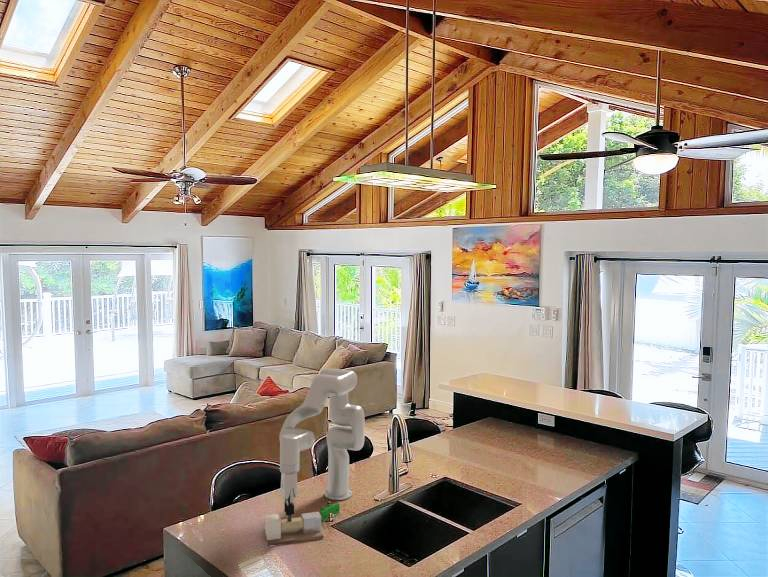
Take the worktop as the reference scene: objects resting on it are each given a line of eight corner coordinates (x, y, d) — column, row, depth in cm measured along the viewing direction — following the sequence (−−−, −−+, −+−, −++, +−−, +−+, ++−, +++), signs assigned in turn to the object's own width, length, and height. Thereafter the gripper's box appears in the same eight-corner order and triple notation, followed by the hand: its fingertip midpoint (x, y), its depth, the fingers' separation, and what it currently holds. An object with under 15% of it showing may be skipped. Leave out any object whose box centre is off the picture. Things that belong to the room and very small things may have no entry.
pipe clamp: (332, 511, 248) (332, 501, 248) (339, 513, 246) (339, 503, 246) (315, 520, 239) (315, 509, 239) (322, 523, 237) (322, 512, 237)
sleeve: (301, 528, 229) (301, 513, 228) (318, 526, 231) (318, 511, 231) (303, 533, 224) (303, 519, 224) (321, 531, 226) (321, 516, 226)
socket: (265, 531, 225) (265, 515, 225) (277, 530, 227) (278, 514, 227) (267, 540, 219) (267, 523, 218) (280, 538, 220) (280, 521, 220)
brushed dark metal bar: (278, 527, 225) (278, 499, 224) (311, 523, 229) (311, 496, 229) (279, 531, 222) (279, 503, 221) (312, 526, 226) (313, 499, 226)
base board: (264, 532, 228) (264, 529, 228) (316, 525, 234) (316, 522, 234) (268, 546, 216) (268, 543, 216) (323, 538, 223) (323, 535, 223)
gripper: (276, 460, 230) (276, 506, 231) (283, 475, 215) (282, 523, 216) (295, 459, 232) (295, 503, 233) (303, 472, 217) (302, 520, 218)
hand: (289, 512), depth 224 cm, fingers closed on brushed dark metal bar, 2 cm apart
